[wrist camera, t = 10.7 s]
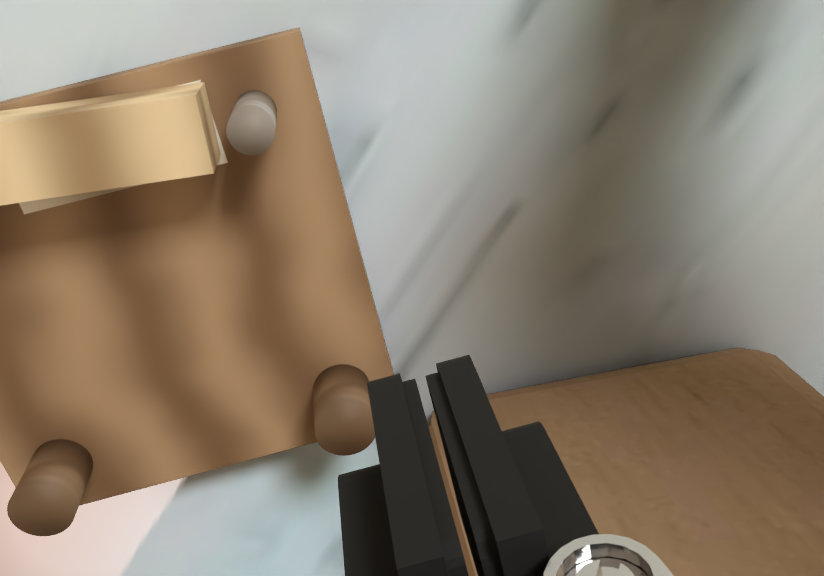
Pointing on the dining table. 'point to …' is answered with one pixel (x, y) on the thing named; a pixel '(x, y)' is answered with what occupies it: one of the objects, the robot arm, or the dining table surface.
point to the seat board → (186, 300)
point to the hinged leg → (106, 143)
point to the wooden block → (687, 460)
